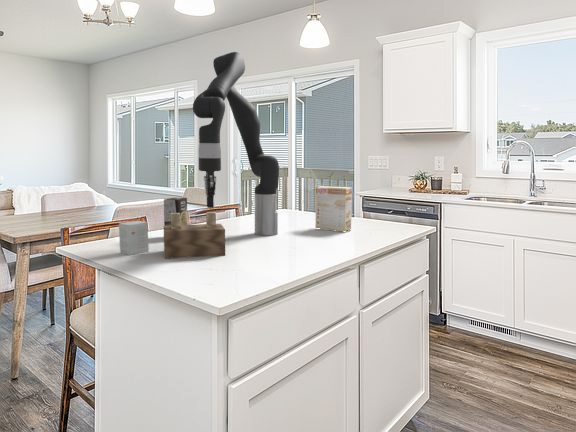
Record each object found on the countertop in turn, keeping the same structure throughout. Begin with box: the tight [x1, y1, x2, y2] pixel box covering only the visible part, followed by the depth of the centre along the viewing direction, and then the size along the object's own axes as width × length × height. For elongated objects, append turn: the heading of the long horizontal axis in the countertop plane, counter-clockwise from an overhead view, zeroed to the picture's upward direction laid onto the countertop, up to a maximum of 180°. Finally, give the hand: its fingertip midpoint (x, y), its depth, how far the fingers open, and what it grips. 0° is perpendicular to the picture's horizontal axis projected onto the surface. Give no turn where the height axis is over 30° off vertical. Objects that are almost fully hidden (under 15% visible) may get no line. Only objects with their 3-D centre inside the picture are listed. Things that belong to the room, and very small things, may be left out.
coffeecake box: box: [314, 185, 353, 232], centre depth 206 cm, size 15×7×20 cm, turn 58°
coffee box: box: [163, 197, 189, 227], centre depth 185 cm, size 9×6×16 cm
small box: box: [118, 220, 150, 256], centre depth 159 cm, size 8×6×10 cm
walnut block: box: [163, 223, 226, 259], centre depth 158 cm, size 20×12×9 cm, turn 105°
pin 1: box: [171, 213, 180, 229], centre depth 156 cm, size 3×3×8 cm
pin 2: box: [205, 211, 217, 228], centre depth 159 cm, size 3×3×8 cm
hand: (210, 207), depth 158 cm, fingers closed
